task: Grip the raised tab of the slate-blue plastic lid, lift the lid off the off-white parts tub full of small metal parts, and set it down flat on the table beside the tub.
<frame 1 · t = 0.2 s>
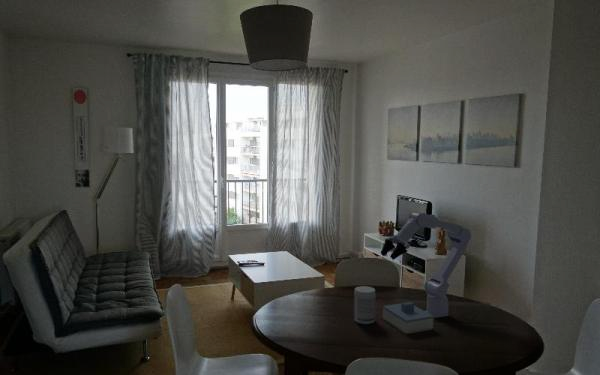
hand: (386, 256, 200), 30 cm above the table, tool tilted 45°, fingers open, 7 cm apart
parts tub: (407, 323, 202), on the table
supplement tub: (364, 321, 205), on the table
snap lid: (407, 313, 201), point 5 cm above the table, touching parts tub
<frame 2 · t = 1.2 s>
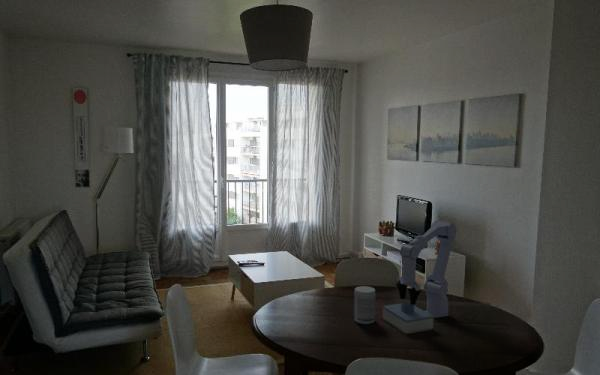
hand: (407, 301, 201), 10 cm above the table, tool pointing down, fingers open, 7 cm apart
nothing on the table moved.
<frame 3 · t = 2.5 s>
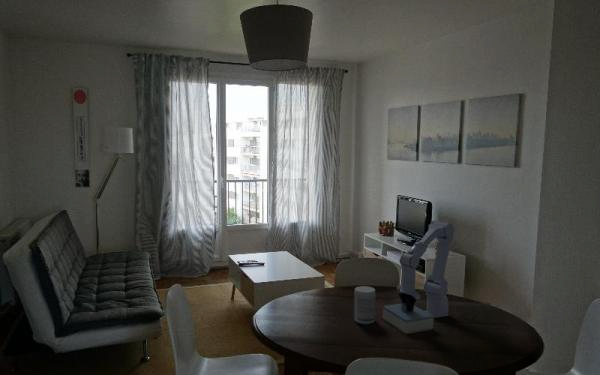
hand: (407, 310, 201), 6 cm above the table, tool pointing down, fingers closed on snap lid, 2 cm apart
snap lid: (407, 313, 201), point 5 cm above the table, touching gripper, parts tub
everything else where it was.
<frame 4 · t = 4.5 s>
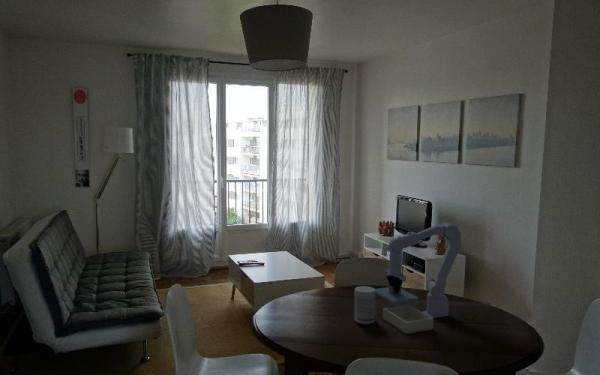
hand: (394, 291, 213), 10 cm above the table, tool pointing down, fingers closed on snap lid, 2 cm apart
snap lid: (394, 295, 213), point 9 cm above the table, touching gripper
everything else where it was.
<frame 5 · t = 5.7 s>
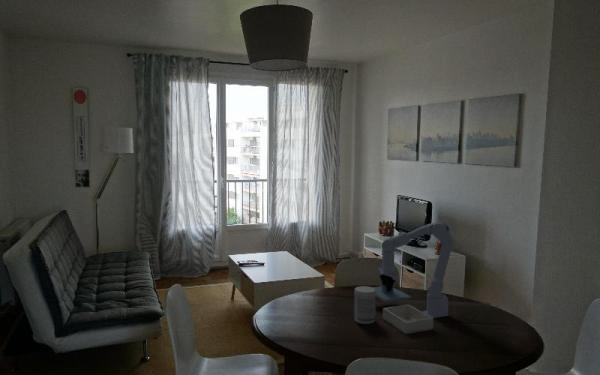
hand: (387, 290, 221), 8 cm above the table, tool pointing down, fingers closed on snap lid, 2 cm apart
snap lid: (387, 294, 221), point 7 cm above the table, touching gripper
everything else where it was.
when the fingers open (4 cm above the table, at t = 6.7 s): snap lid drops 1 cm, point 1 cm above the table.
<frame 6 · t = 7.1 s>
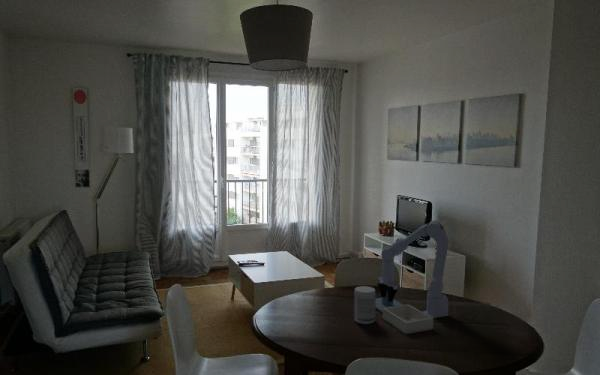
hand: (387, 299, 222), 4 cm above the table, tool pointing down, fingers open, 6 cm apart
snap lid: (387, 306, 222), point 1 cm above the table
everything else where it was.
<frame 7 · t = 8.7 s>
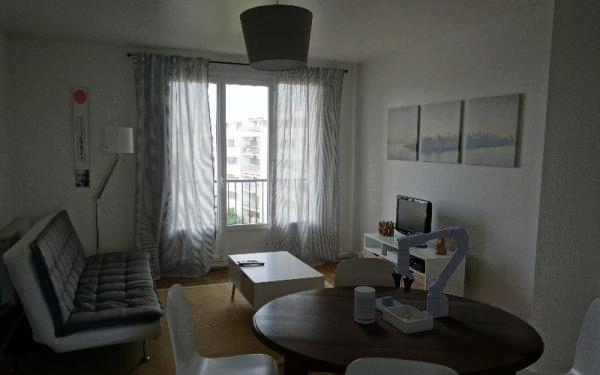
hand: (402, 290, 216), 10 cm above the table, tool pointing down, fingers open, 7 cm apart
nothing on the table moved.
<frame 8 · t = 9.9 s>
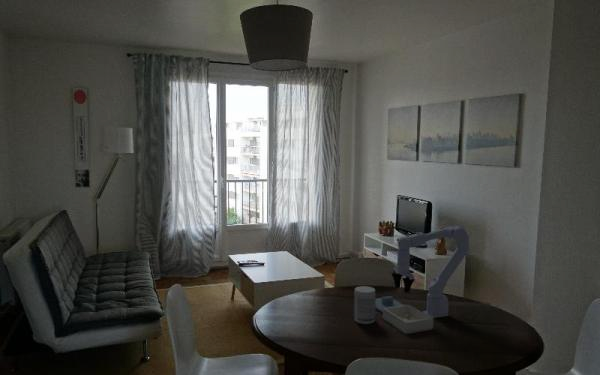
hand: (402, 289, 216), 10 cm above the table, tool pointing down, fingers open, 7 cm apart
nothing on the table moved.
at the end: snap lid inside the target area (0.2 cm from its centre), point 0.5 cm above the table; snap lid tilted 0°; the gripper is holding nothing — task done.
